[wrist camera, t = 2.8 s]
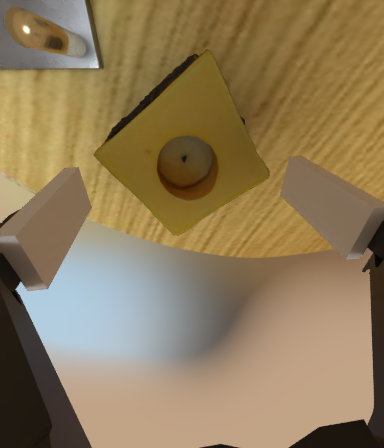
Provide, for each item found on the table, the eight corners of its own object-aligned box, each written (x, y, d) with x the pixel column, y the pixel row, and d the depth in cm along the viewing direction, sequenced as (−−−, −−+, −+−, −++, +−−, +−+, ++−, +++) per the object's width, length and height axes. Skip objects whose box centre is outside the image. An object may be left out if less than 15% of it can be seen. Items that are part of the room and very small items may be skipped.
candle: (191, 53, 20) (210, 38, 12) (240, 143, 25) (277, 175, 17) (114, 123, 23) (85, 151, 14) (173, 191, 28) (176, 239, 20)
